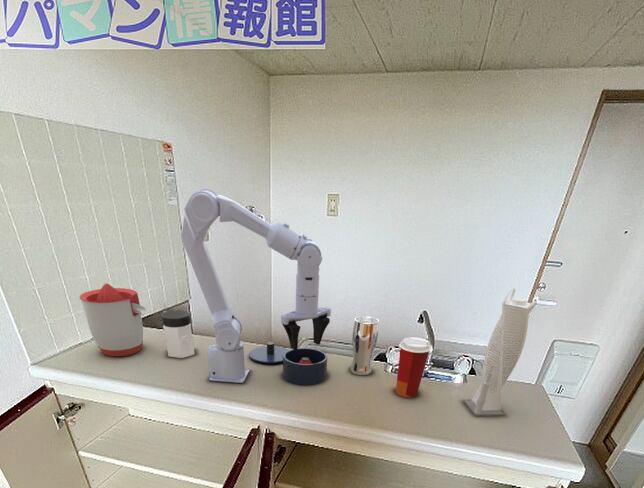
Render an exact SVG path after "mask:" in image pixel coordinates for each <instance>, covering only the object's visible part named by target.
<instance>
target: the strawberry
mask: <svg viewBox="0 0 644 488" xmlns="http://www.w3.org/2000/svg"><path fill="white" fill-rule="evenodd" d="M299 364H312V362H311V361H310V360H309V358H306V357H304V358H302V359H301V360H300V361H299Z"/></svg>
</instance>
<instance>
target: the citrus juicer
mask: <svg viewBox="0 0 644 488" xmlns="http://www.w3.org/2000/svg"><path fill="white" fill-rule="evenodd" d="M79 300H80V301H81V303H82V304H81V305H82V307H83V310H84V314H85V317H86V318H85V319H86V321H87V326H88V328H89V331H90V334H91V336H92V338H93V341H94V342H95V344H96V345H97V347H98V349H99V350H100V351H101V352H102V354H104V355H106V356H109V357H124V356H132V355H134V354H136V353H138V352H140V351H141V350H142V347H143V343H144V326H143V325H144V324H143V319H142V316H144V315H146V314H147V309H146V308H145V306H143V305H141V303H140V298H139V293H138V291H136V290H134V289H131V288H125V287H123V288H122V287H114V286H112V285H111V284H109V283H108V282H107V283H106V282H105V283H104V284H103V285H102V287H101V288H98V289H93V290H89V291H85V292H83V293H81V294H79Z"/></svg>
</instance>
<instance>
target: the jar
mask: <svg viewBox="0 0 644 488" xmlns="http://www.w3.org/2000/svg"><path fill="white" fill-rule="evenodd" d="M161 321H162V325H163V326H162V329H163V333H164V339H165V346H166V350H167V356H168V357H170V358H176V359H184V358H188V357H191V356H194V355H195V346H194V338H193V330H192V321H191V315H190V312H188V311H184V310H169V311H165V312H163V313H162V314H161Z"/></svg>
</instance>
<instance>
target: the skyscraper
mask: <svg viewBox="0 0 644 488" xmlns="http://www.w3.org/2000/svg"><path fill="white" fill-rule="evenodd" d="M515 293H516V288H515V287H514V288H512V289H510V290H509V291H508V292H507V294H506V295H505V297H504V298H503V301H502V303H501V314H500V316H499V318H498V320H497V322H496V324H495V326H494V328H493V330H492V333H491V335H490V337H489V340H488V344H487V347H486V351H485V354H484V360H483V365H482V372H481V378H480V379H481V380H480V381H481V382H480V386H479V387H478V388H477V390H476V392H475V394H474V395H473V397H472V398H471V400H464V401H463V403H464V404H465V405H466V407H467V408H468V409H469V410H470V412H472V413H473V415H474V416H475V417H487V416H489V417H490V416H491V417H493V416H495V417H496V416H498V417H499V416H504V412H502V411H501V406H502V405H501V404H502V387H503V386H504V385H505V384H506V382H507V381H508V379H509V378H510V376H511V375H512V373H513V371H514V369H515V367H516V366H517V364H518V362H519V359H520V358H521V355H522V352H523V350H524V347H525V342H526V338H527V334H528V326H529V317H530V313H531V312H532V311H533V310H534V308H535V307H536V305H537V301H536V300H534V301H532V302H528V300H527V299H526V298H522V297H514V295H515ZM509 296H510V298H509ZM508 298H509V300H508Z"/></svg>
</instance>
